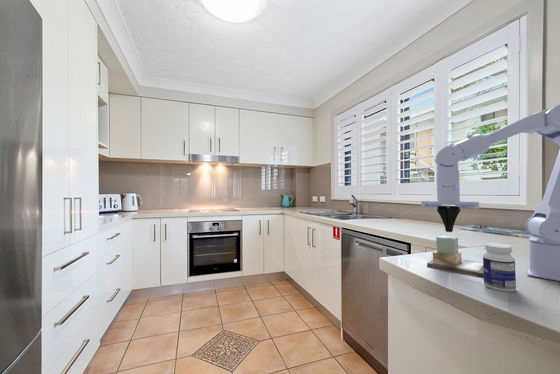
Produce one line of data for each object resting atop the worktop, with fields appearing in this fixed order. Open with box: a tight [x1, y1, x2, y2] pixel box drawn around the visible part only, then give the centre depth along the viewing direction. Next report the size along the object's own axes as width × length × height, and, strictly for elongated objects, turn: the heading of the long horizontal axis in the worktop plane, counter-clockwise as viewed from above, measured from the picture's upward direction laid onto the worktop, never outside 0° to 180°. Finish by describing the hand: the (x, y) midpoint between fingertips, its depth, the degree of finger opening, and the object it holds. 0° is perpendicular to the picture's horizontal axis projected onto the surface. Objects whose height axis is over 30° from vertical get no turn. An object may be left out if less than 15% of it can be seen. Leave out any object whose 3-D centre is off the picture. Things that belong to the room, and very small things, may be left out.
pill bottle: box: [482, 242, 517, 293], centre depth 58 cm, size 6×6×10 cm
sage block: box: [435, 234, 459, 255], centre depth 75 cm, size 4×4×4 cm
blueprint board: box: [426, 249, 484, 278], centre depth 74 cm, size 14×12×4 cm
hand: (449, 231), depth 76 cm, fingers closed
